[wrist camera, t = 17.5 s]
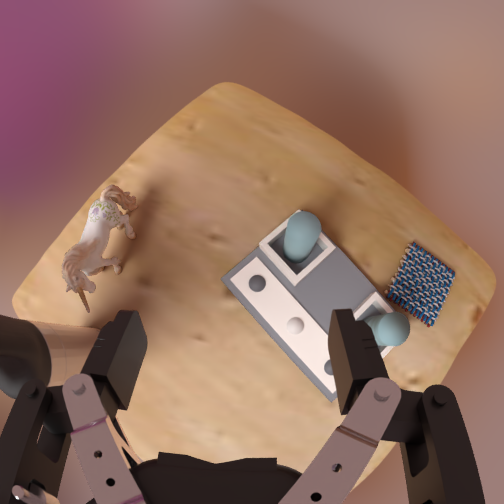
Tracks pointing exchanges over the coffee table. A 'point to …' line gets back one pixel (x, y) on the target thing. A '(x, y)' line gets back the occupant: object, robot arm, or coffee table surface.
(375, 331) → the teal peg
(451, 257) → the coffee table surface
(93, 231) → the unicorn figurine
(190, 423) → the coffee table surface
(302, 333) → the peg board
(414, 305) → the woven mat
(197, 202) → the coffee table surface
